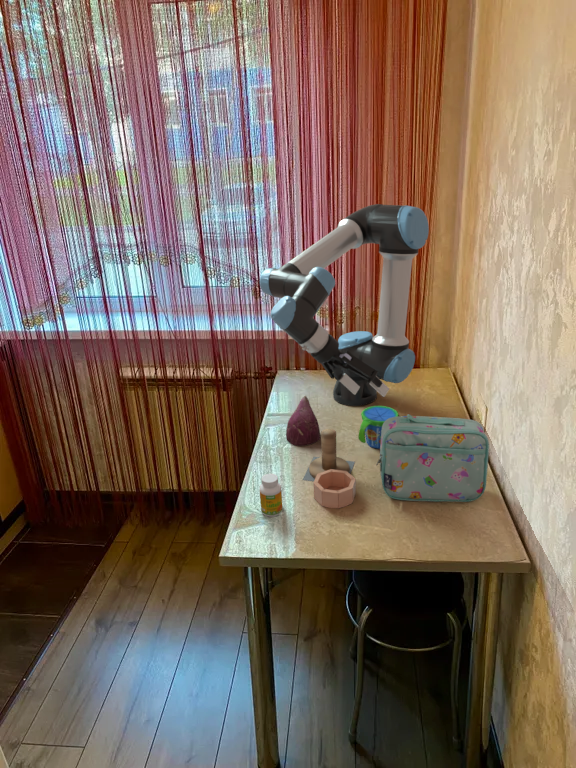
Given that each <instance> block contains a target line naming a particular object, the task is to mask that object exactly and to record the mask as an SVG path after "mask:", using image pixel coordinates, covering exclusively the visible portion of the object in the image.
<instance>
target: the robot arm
mask: <svg viewBox="0 0 576 768" xmlns="http://www.w3.org/2000/svg"><path fill="white" fill-rule="evenodd" d="M429 227H430V225H429V220H428V218H427V215H426V214H425V212H424V211H423V210H422V209H421V208H419V207H417V206H411V205H399V204H397V205H396V204H394V205H393V204H383V203H382V204H380V203H376V204H371V205H368V206H364V207H362V208H360V209H357V210H355V211H354V212H352V213H351V214H349V215H347V216H346V217H345V218H343V219H342V220H340V221H339V222H338V224H337V227H336V228H335V229H333V230H331V231H330V232H329V233H328V234H326V235H325V236H323V237H322V238H320V239H319V240H318V241H316V242H315V243H314V244H312V245H310V246H309V247H308V248H306V249H305V250H303V251H302V252H300V253H299V254H297V256H295V257H294V258H292V259H291V260H289V261H288V262H287V263H285V264H284V265H282V266H281V267H279V268H275V267H273V268H272V267H270V268H266V269H265V270H263V272H262V273H261V275H260V278H259V286H260V289H261V291H262V292H263V293H264V294H266V295H267V296H268V295H269V296H271V297H273V298H279V300H278V301H277V303H275V304H274V306H273V307H272V308H271V310H270V318H271V320H272V321H273V323H274V324H276V325H277V326H278V327H279V329H280V330H282V331H283V332H285V333H286V334H287V335H288V336H289V337H290V338H291V339H292V340H294V341H295V342H296V343H297V344H298V345H299V346H300V347H301V350H303V351H306V352H307V353H308V354H310V356H311V357H312V358H313V359H314V360H315V361H317V362H318V363H319V364H321V365H322V367H323V369H324V370H325V371H326V373H327V374H328V376H329V377H330V378H331V379H332V380H333V379H335V380H336V381H335V384H334V387H333V391H332V394H333V395H332V397H333V399H334V401H335V402H337V403H339V404H342V405H345V406H352V407H359V406H366V405H369V404H371V403H373V402H375V401H376V399H377V394H379V395H380V396H381V397H383V398H384V397H386V395H387V394H388V392H389V391H390V388H389V387H388V386H387V385H386V384H385V383H384V382H386V383H392V384H401V383H402V382H404V381H405V380H406V379H407V378H408V377H409V375H410V374H411V372H412V370H413V369H414V365H415V361H416V354H415V352H414V350H412V349H410V348H409V343H410V340H409V339H408V338H407V337H406V325H407V317H408V308H409V307H408V306H409V296H410V285H411V274H412V267H413V266H412V265H413V259H414V258H415V257H416V256H418V254H419V249H421V248H423V247H424V246H425V244H426V242H427V240H428V237H429V231H430V230H429V229H430V228H429ZM366 244H374V245H375V244H376V245H378V253H379V254H380V255H381V256H382V258H383V259H382V261H383V262H382V271H381V283H380V284H381V286H380V296H379V297H380V298H379V310H378V320H377V333H376V335H373V333H372V332H370V331H364V330H362V331H361V330H357V331H351V332H347V333H343V334H342V335H340V336H339V338H338V340H337V339H336V338H335V337H334V336H333V335H332V334H330V333H329V331H328V330H327V329H326V328H324V327H323V326H322V325H321V324H320V323H319V322H318V321H317V320H316V319H315V318H314V317H315V316H316V315H317V313H318V311H319V310H320V308H321V307H322V306H323V304H324V303H325V302H326V300H327V298H328V297H329V296H330V295H331V292H332V291H333V289H334V288H335V287H336V280H335V278H334V276H333V274H332V273H331V272H330V271H329V270H328V269H326V268H327V267H328V266H330V265H331V264H332V263H334V262H335V261H337V260H338V259H340V257H342V256H344V255H345V254H346V253H347V252H349V251H351V249H352V250H355V249H359V248H360V247H361V246H363V245H366ZM383 381H384V382H383ZM377 392H378V393H377Z"/></svg>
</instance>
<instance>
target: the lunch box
mask: <svg viewBox="0 0 576 768" xmlns="http://www.w3.org/2000/svg"><path fill="white" fill-rule="evenodd" d="M489 450H490V441H489V438H488V436H487V435H486V433H485V429H484V426H483V425H482V424H481V423H480V422H479V421H477V420H475V419H474V420H473V419H469V418H460V417H446V416H445V417H442V416H441V417H440V416H424V415H423V416H421V415H411V414H410V413H409V414H407V415H401V416H400V415H399V416H398V417H392V418H389V419H387V420H386V421H385V422H384V423H383V425H382V430H381V444H380V449H379V459H378V461H377V463H376V466H378V464H379V471H380V472H379V473H380V477H381V478H380V479H381V484H382V489H383V491H384V494H386V495H387V496H388V497H390V498H392V499H393V500H400V501H410V502H411V501H412V502H413V501H414V502H448V503H449V502H452V503H453V502H462V503H465V502H466V503H469V502H474V501H476V500H478V499H480V498H481V497H482V496H483V494H484V493H485V490H486V486H487V478H488V467H489V455H490V453H489Z"/></svg>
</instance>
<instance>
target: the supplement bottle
mask: <svg viewBox="0 0 576 768" xmlns="http://www.w3.org/2000/svg"><path fill="white" fill-rule="evenodd" d="M259 501H260V511H261V513H262V514H263V515H264V516H266V517H268V518H270V517H271V518H274V517H277V516H279V515H281V513H282V512H283V510H284V509H283V493H282V485H281V483H280V482H279V477H278V475H277V474H275V473H271V472H270V473H266V474H264V475H262V476H261V484H260V485H259Z"/></svg>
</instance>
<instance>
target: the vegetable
mask: <svg viewBox="0 0 576 768" xmlns="http://www.w3.org/2000/svg"><path fill="white" fill-rule="evenodd" d="M319 425H320V424H319V422H318V418H317V416H316V415H315V413H314V410H313V408H312V407H311V404H310V400H309V399H308V397H307V395H304V396H303V397H302V398H301V399H300V401H299V402H298V405H297V406H296V408H295V410H294V412H292V414H291V416H290V417H289V418H288V422H287V424H286V430H285V431H286V432H285V433H286V434H285V436H286V437H285V438H286V441H287V442H288V443H289V444H290V445H292V446H296V447H297V446H298V447H299V446H300V447H302V446H303V447H306V446H310V445H313V444H315V443H317V442H318V441H320V440H321V431H320V426H319Z"/></svg>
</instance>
